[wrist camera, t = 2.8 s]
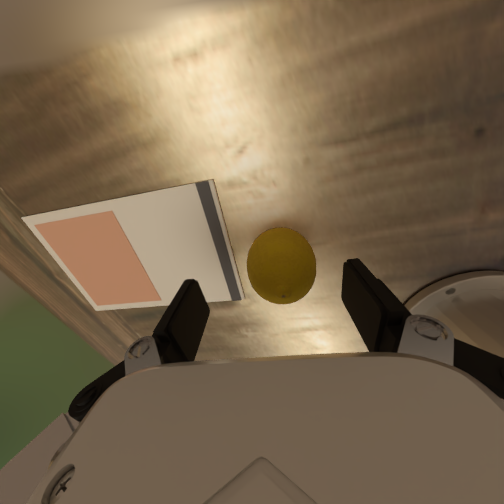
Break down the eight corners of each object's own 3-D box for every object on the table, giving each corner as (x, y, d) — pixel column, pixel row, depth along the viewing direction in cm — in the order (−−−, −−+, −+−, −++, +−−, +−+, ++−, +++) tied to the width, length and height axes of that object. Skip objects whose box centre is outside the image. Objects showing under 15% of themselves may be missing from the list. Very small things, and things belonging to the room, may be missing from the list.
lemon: (253, 265, 20) (243, 324, 13) (250, 216, 17) (236, 258, 10) (303, 265, 19) (323, 327, 12) (308, 215, 17) (336, 258, 10)
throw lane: (213, 179, 16) (212, 179, 16) (244, 297, 22) (244, 299, 22) (24, 216, 20) (19, 217, 19) (97, 309, 26) (95, 311, 26)
